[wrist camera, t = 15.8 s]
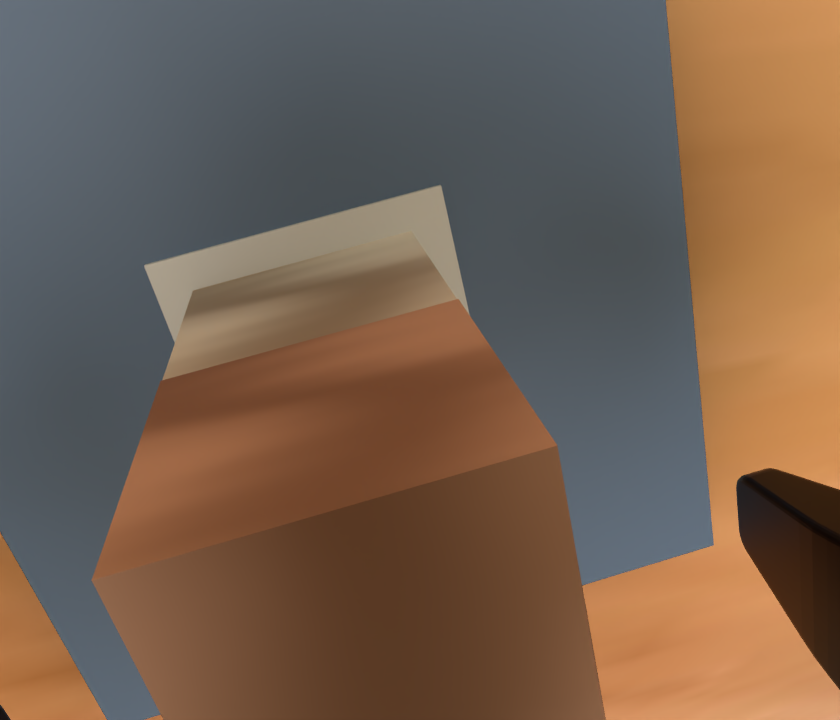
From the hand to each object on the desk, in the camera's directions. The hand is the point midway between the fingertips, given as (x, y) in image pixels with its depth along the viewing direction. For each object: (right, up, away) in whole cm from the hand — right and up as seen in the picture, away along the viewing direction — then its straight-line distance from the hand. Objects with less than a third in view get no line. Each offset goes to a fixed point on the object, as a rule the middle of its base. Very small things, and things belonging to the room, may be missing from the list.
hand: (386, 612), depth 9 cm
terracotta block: (-1, +1, +3) cm, 4 cm away
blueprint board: (-2, +3, +8) cm, 9 cm away
